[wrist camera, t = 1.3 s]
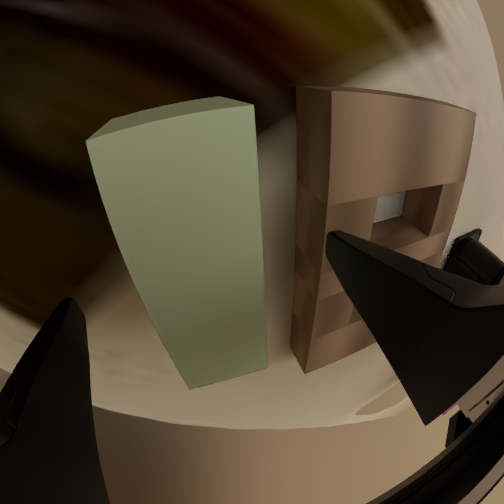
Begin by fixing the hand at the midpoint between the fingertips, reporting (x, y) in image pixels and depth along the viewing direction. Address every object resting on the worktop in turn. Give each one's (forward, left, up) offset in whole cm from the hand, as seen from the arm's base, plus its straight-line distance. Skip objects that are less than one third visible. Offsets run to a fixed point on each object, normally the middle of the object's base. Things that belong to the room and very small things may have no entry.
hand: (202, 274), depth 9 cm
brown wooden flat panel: (-12, +5, -5) cm, 14 cm away
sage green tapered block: (0, 0, -5) cm, 5 cm away
